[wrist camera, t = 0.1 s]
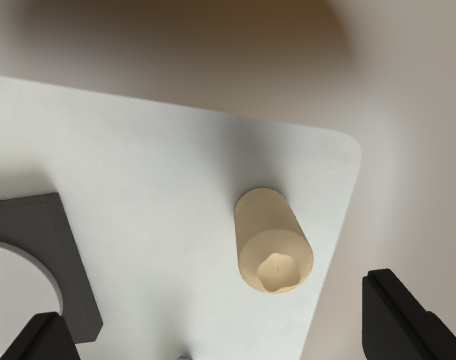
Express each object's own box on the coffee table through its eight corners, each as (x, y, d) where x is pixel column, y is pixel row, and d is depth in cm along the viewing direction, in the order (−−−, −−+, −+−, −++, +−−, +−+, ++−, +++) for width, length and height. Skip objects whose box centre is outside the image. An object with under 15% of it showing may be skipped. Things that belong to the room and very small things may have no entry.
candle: (299, 200, 30) (334, 257, 21) (273, 245, 32) (294, 317, 23) (249, 177, 30) (262, 227, 20) (224, 225, 31) (225, 291, 22)
